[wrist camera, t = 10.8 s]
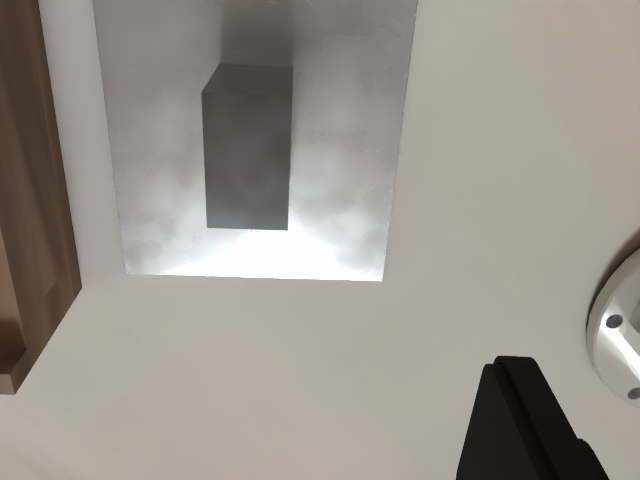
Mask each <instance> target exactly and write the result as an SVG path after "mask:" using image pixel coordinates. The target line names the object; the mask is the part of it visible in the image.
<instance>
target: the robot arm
mask: <svg viewBox="0 0 640 480" xmlns="http://www.w3.org/2000/svg"><path fill="white" fill-rule="evenodd" d="M586 339H587V352H588V355H589V358H590V361H591V364H592V366H593V368H594V369H595V371H596V372H597V374H598V375H599V377H600V379H601V380H602V382H603V383H604V384H605V385H606V386H607V387H608V389H609V390H610V391H611V392H612V393H613V394H614V395H615V396H617V397H618V398H619V399H621V400H622V401H624V402H626V403H627V404H630V405H632V406H635V407H638V408H640V248H639V249H638V250H637V251H635V252H634V253H633V254H632V255H631V256H629V257H628V258H627V259H626V260H625V261H624V262H623V263H622V264H621V265H620V266H619V268H618V269H617V270H616V271H615V272H614V273H613V274H612V275H611V277H610V278H609V279H608V281H607V282H606V284H605V285H604V287H603V289H602V290H601V292H600V293H599V295H598V296H597V299H596V301H595V303H594V306H593V308H592V311H591V313H590V316H589V321H588V327H587V332H586ZM456 480H609V478H608V476H607V474H606V473H605V471H604V469H603V467H602V465H601V464H600V462H599V460H598V458H597V456H596V455H595V453H594V451H593V450H592V448H591V447H590V446H589V444H588V443H587V442H585V441H584V440H583V439H578V438H577V436H576V435H575V433H574V431H573V429H572V427H571V425H570V424H569V422H568V420H567V418H566V416H565V414H564V412H563V411H562V409H561V407H560V405H559V403H558V401H557V399H556V398H555V396H554V394H553V392H552V390H551V388H550V387H549V385H548V383H547V381H546V379H545V377H544V375H543V374H542V372H541V370H540V368H539V366H538V364H537V363H536V361H535V360H534V359H533V358H531V357H517V356H497V357H496V359H495V360H494V363H493V364H486V365H485V366H484V368H483V371H482V375H481V379H480V383H479V387H478V391H477V395H476V399H475V403H474V407H473V411H472V414H471V418H470V422H469V426H468V430H467V434H466V438H465V442H464V446H463V450H462V454H461V458H460V462H459V465H458V469H457V475H456Z"/></svg>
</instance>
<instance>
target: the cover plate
mask: <svg viewBox="0 0 640 480" xmlns="http://www.w3.org/2000/svg"><path fill="white" fill-rule="evenodd" d="M417 4H418V0H93V8H94V17H95V25H96V33H97V41H98V49H99V58H100V66H101V74H102V82H103V90H104V98H105V107H106V115H107V123H108V131H109V139H110V148H111V156H112V164H113V172H114V180H115V188H116V197H117V205H118V213H119V221H120V229H121V238H122V246H123V254H124V262H125V270H126V274H157V275H192V276H226V277H261V278H295V279H330V280H365V281H382V278H383V270H384V262H385V254H386V246H387V239H388V231H389V223H390V215H391V207H392V199H393V192H394V184H395V176H396V168H397V160H398V152H399V145H400V137H401V129H402V121H403V113H404V105H405V98H406V90H407V82H408V74H409V66H410V58H411V51H412V43H413V35H414V27H415V19H416V11H417Z"/></svg>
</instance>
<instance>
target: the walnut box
mask: <svg viewBox="0 0 640 480" xmlns="http://www.w3.org/2000/svg"><path fill="white" fill-rule="evenodd" d="M81 289H82V286H81V280H80V273H79V267H78V260H77V254H76V247H75V241H74V234H73V228H72V221H71V215H70V208H69V202H68V195H67V189H66V182H65V176H64V169H63V163H62V156H61V150H60V143H59V137H58V130H57V124H56V117H55V111H54V104H53V98H52V91H51V85H50V78H49V72H48V65H47V59H46V52H45V46H44V39H43V33H42V26H41V20H40V13H39V7H38V0H0V394H6V395H15V394H16V392H17V391H18V389H19V387H20V386H21V384H22V383H23V381H24V379H25V378H26V376H27V375H28V373H29V372H30V370H31V368H32V367H33V365H34V364H35V362H36V360H37V359H38V357H39V356H40V354H41V352H42V351H43V349H44V348H45V346H46V344H47V343H48V341H49V340H50V338H51V337H52V335H53V333H54V332H55V330H56V329H57V327H58V325H59V324H60V322H61V321H62V319H63V317H64V316H65V314H66V313H67V311H68V309H69V308H70V306H71V305H72V303H73V302H74V300H75V298H76V297H77V295H78V294H79V292H80V290H81Z"/></svg>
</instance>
